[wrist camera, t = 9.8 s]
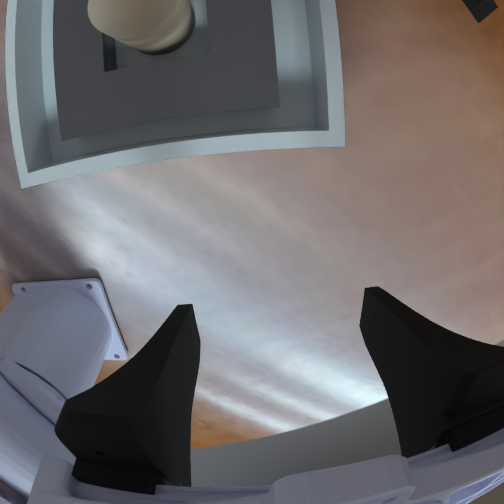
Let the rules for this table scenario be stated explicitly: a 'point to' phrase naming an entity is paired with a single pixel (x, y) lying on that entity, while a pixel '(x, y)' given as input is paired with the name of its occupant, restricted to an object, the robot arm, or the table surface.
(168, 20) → the peg
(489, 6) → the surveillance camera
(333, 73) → the tray
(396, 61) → the table surface
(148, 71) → the plate
